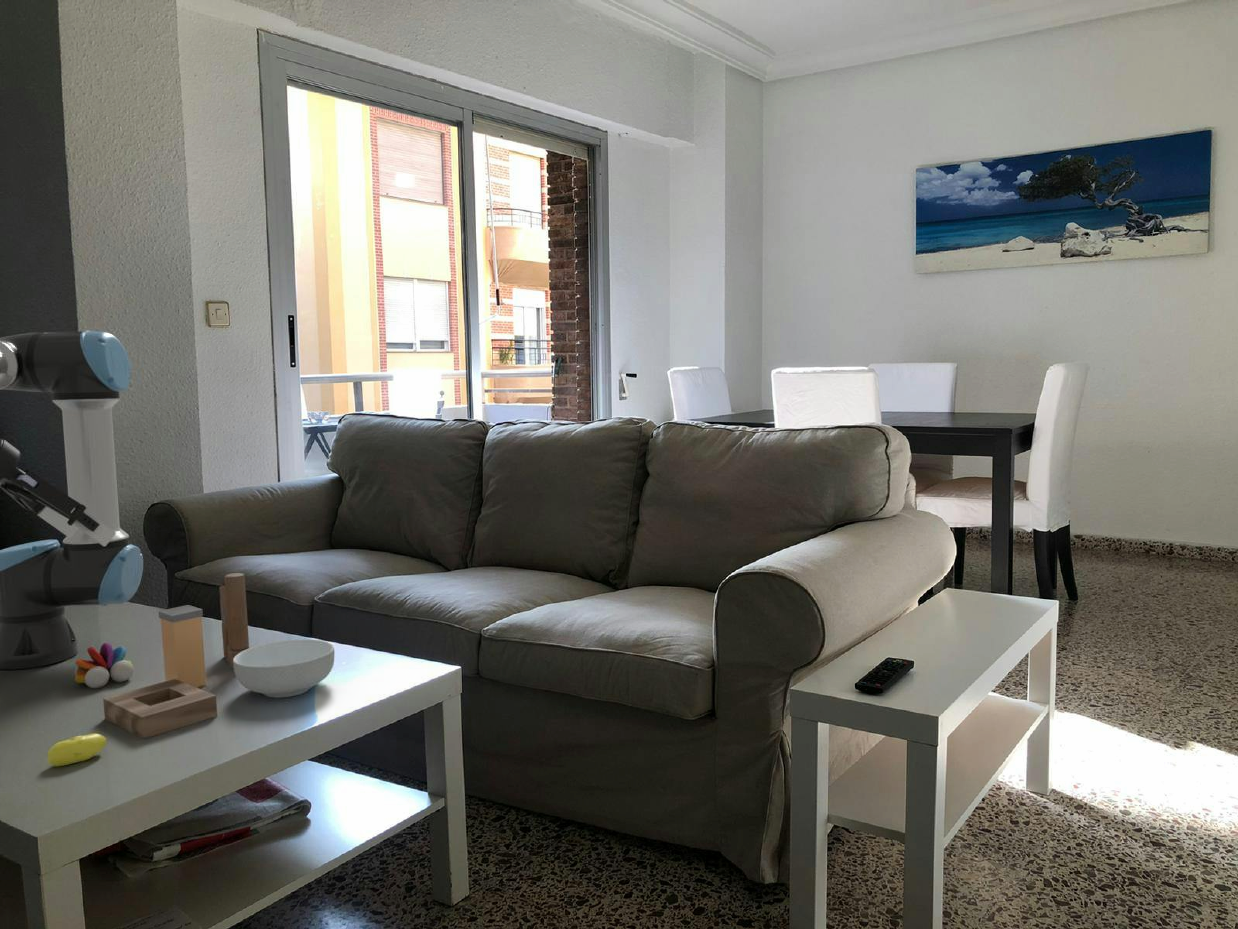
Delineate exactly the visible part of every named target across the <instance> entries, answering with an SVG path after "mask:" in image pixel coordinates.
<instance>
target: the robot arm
mask: <svg viewBox="0 0 1238 929" xmlns="http://www.w3.org/2000/svg"><path fill="white" fill-rule="evenodd" d="M131 373H132V372H131V364H130V361H129V357H128V354H127V352H126V350H125V348H124V345H122V343H121V341H120V340H119V339H118V338H117V337H116V336H115V335H113V334H112V333H109V332H106V331H95V330H83V331H57V332H56V331H54V332H53V331H52V332H51V331H50V332H47V331H46V332H41V331H40V332H28V333H27V332H26V333H20V334H14V335H9V336H2V337H0V390H6V391H21V392H31V393H34V392H35V393H51V398H52V403H54V404H55V405H56V406H57V407H58V408H59V409H60V410H61V413H62V415H61V416H62V426H63V429H62V430H63V439H64V440H63V441H64V456H65V466H66V481H67V482H66V484H67V494H66V493H64V492H63V491H61V490H60V489H58V488H56V487H55V486H53V485H52V484H50V483H49V482H47V481H45V480H44V479H42V478H41V477H39V476H38V475H36V473H35V472H34V471H31V470H28V469H26V468H25V469H22V468H18V467H17V464H18V462H19V461H20V459H21V455H22V454H21V452H20V450H19V449H17V448H16V447H15V446H14V445H12V444H10V443H9V442H8V441H7V440H5V439H4V438H0V489H1V490H3V491H4V492H5V493H6V494H7V495H8V496H9V497H11V498H12V500H14V501H15V502H17V503H18V504H19V505H20V506H21V507H22V508H23V509H24V510H27V511H30V512H31V513H33V514H36V515H37V516H38V517H39V518H40V519H42V520H43V521H45V522H46V523H48V524H49V525H51V526H52V527H54V528H55V529H56V530H58V531H59V532H60V533H62V534H63V535H65V538H64V539H63V540H62V547H61V544H60V542H59V540H58V539H45V540H44V539H43V540H38V541H32V542H28V543H27V542H26V543H23V544H18V545H13V546H9V547H7V548H3V549H0V670H21V669H31V668H32V669H33V668H38V667H43V666H47V665H52V664H55V663H60V662H63V661H65V660H68V659H70V658H73V657H75V656H76V655H77V654H78V653H79V642H78V639H77V637H76V634H75V632H74V631H73V629H72V627H71V624H70V623H69V620H68V618H67V616H66V608H65V607H75V606H78V607H79V606H80V607H81V606H102V607H106V606H109V605H119V604H120V605H121V604H124V603H126V602H128V601H129V600H131V599H132V598H133V597H134V595H135V594H136V592H138V588H139V586H140V584H141V580H142V576H143V572H144V557H143V554H142V553H141V549H140V548H139V546H136V545H133V544H130V536H129V534H128V533H127V532H126V531H124V530H123V529H122V528H121V526H120V525H121V524H120V523H121V522H120V510H119V497H118V483H117V482H118V481H117V469H116V468H117V466H116V453H115V452H116V451H115V450H116V449H115V437H114V435H115V434H114V425H113V424H114V423H113V407H114V406H115V405H116V404H117V403H118V402H120V400H121V399H120V398H121V397H120V392H123V391H124V390H126V389H127V388H128V387H129V386H130V379H131V375H132V374H131Z"/></svg>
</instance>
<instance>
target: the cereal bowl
mask: <svg viewBox="0 0 1238 929" xmlns="http://www.w3.org/2000/svg"><path fill="white" fill-rule="evenodd" d="M334 663H335V647H334V645H333V644H332V643H331V642H328V641H325V640H320V639H311V638H310V639H305V638H303V639H300V638H299V639H290V640H289V639H287V640H280V641H274V642H267V643H263V644H260V645H255V646H253V647H249V649H247V650H244V651H242V652H240V653H239V654H237V655H236V656H235V657H234V659H233V666H234V670H233V671H234V675H235V677H236V679H237V681H238V683H239V684H240V685H242V687H243V688H244V689H247V690H249V691H252V692H254V693H258V694H263V695H264V696H265V697H269V698H277V699H278V698H279V699H280V698H288V697H289V698H290V697H294V696H299V695H301V694H305V693H306V692H307V691H309V690H310V689H311V688H312V687H314V686H315V685H318V684H319V683H321V682H322V681H324V680H326V678H327V677H328V675H330V673H331V672H332V669H333V667H334Z"/></svg>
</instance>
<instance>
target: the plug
mask: <svg viewBox="0 0 1238 929" xmlns="http://www.w3.org/2000/svg"><path fill="white" fill-rule="evenodd" d="M203 616H204V613H203V608H198V607H196V606H192V605H189V604H186V605H182V606H177V607H172V608H167V609H163V610H158V618H159V619H160V625H161V626H160V627H161V628H160V629H161V641H162V652H163V663H164V664H163V665H164V666H163V668H164V679H165V681H169V680H173V679H177V680H179V681H182V682H184V683H187V684H189V685H192V686H194V687H197V688H199V687H203V686H207V676H206V663H205V650H204V649H205V647H204V636H203V635H204V634H203V621H202V620H203V618H202V617H203ZM165 681H164V682H165Z"/></svg>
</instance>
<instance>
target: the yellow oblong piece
mask: <svg viewBox="0 0 1238 929" xmlns="http://www.w3.org/2000/svg"><path fill="white" fill-rule="evenodd" d="M106 743H107V738H106V737H105V736H104V735H102V734H100V733H89V734H85V735H80V734H79V735H76V736H75V735H74V736H73V737H71V738H69V739H65V740H61V741H58V742H56V743H55V744H53V745H52V746H51V747H50V749H49V750H48V752H47V756H46V758H47V761H48V763H49V765H50V766H53V767H62V766H69V765H71V764H75V763H80V762H83V761H87V760H89V759H91V758H93V757H94V756H95V755H97V754H98V753H99V752H101V751H102V750H103V749H104V748H105V746H106Z"/></svg>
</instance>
